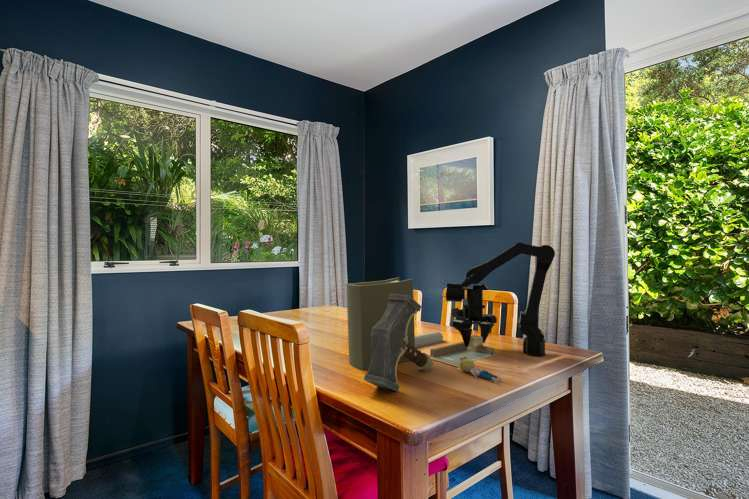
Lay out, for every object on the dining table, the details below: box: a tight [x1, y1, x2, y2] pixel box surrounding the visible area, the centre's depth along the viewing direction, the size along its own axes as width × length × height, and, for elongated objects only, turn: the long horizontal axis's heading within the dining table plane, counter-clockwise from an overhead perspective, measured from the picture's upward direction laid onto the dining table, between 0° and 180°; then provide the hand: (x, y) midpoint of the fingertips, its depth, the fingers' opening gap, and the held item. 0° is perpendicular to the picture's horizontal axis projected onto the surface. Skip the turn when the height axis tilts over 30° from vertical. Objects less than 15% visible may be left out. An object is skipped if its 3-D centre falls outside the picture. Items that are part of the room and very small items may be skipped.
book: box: [346, 276, 416, 371], centre depth 141 cm, size 22×9×28 cm, turn 121°
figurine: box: [458, 357, 503, 385], centre depth 125 cm, size 6×4×15 cm
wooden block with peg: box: [467, 334, 495, 355], centre depth 150 cm, size 10×4×5 cm, turn 37°
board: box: [428, 341, 499, 369], centre depth 146 cm, size 14×22×3 cm, turn 127°
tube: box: [415, 331, 444, 349], centre depth 161 cm, size 5×5×25 cm
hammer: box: [363, 294, 434, 393], centre depth 122 cm, size 27×9×30 cm
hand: (475, 344), depth 152 cm, fingers open, 9 cm apart
